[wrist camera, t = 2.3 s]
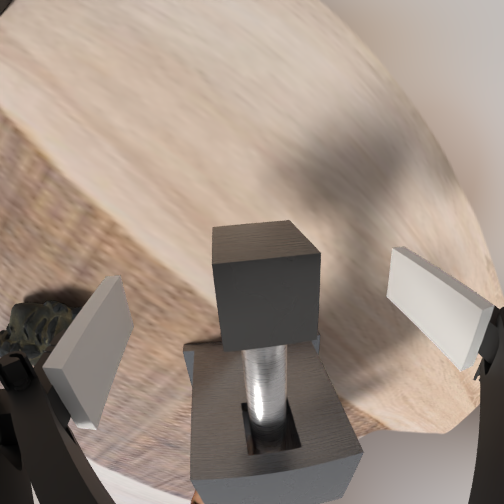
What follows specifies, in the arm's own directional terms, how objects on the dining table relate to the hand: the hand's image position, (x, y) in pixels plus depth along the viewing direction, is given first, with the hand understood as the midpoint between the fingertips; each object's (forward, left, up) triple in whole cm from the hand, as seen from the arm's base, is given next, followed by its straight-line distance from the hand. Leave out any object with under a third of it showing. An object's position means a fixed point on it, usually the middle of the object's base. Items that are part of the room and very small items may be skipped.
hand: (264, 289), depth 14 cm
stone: (+7, -18, -10) cm, 22 cm away
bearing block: (+14, 0, -9) cm, 17 cm away
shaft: (+11, 0, -3) cm, 12 cm away
